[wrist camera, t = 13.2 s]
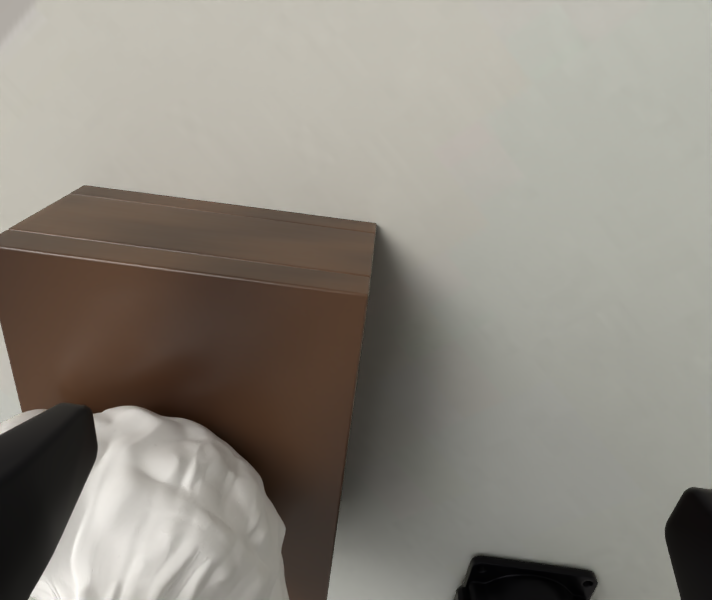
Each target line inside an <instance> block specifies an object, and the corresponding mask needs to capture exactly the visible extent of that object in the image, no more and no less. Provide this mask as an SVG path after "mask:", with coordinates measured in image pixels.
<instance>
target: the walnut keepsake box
mask: <svg viewBox="0 0 712 600" xmlns="http://www.w3.org/2000/svg"><path fill="white" fill-rule="evenodd" d="M376 226H377V224H376V223H369V222H361V221H354V220H346V219H338V218H331V217H323V216H315V215H308V214H300V213H292V212H285V211H277V210H269V209H262V208H254V207H246V206H239V205H231V204H223V203H215V202H208V201H200V200H192V199H185V198H177V197H169V196H162V195H154V194H146V193H139V192H131V191H123V190H116V189H108V188H100V187H93V186H85V185H84V186H82V187H80V188H79V189H77V190H75V191H73V192H71V193H70V194H68V195H67V196H65V197H63V198H61V199H60V200H58V201H56V202H54V203H53V204H51V205H49V206H47V207H46V208H44V209H42V210H40V211H39V212H37V213H35V214H33V215H32V216H30V217H28V218H26V219H25V220H23V221H21V222H19V223H18V224H16V225H14V226H12V227H11V228H9V230H6V231H4V232H3V233H1V234H0V323H1V327H2V331H3V335H4V339H5V343H6V348H7V352H8V356H9V360H10V364H11V368H12V373H13V377H14V381H15V385H16V389H17V393H18V397H19V402H20V406H21V410H22V413H23V412H26V411H30V410H35V409H50V408H51V407H53V406H55V405H57V404H60V403H73V404H80V405H86V406H88V407H90V409H91V410H92V413H93V414H95V413H102V412H103V411H105V410H107V409H110V408H114V407H119V406H138V407H142V408H145V409H148V410H150V411H152V412H154V413H156V414H158V415H161V416H166V417H177V418H184V419H188V420H191V421H194V422H196V423H198V424H201V425H202V426H204V427H206V428H208V429H209V430H210V431H211V432H213V433H214V434H215V435H216V436H217V437H219V438H220V439H222V440H223V441H225V442H226V443H227V444H229V445H230V446H231V447H232V448H233V449H234V450H235V451H236V452H237V453H238V454H239V455H240V456H242V457H243V458H244V459H245V460H246V461H247V462H248V463H249V464H250V465H251V466H252V467H253V468H254V469H255V470H256V471H257V472H258V473H259V475H260V477H261V479H262V481H263V485H264V490H265V493H266V495H267V497H268V498H269V500H270V501H271V502H272V504H273V505H274V507H275V509H276V511H277V513H278V514H279V516H280V518H281V519H282V521H283V523H284V525H285V528H286V531H285V536H284V540H283V544H282V548H281V554H282V558H283V564H284V577H285V583H286V588H287V592H288V596H289V600H327V595H328V588H329V580H330V573H331V566H332V559H333V551H334V544H335V537H336V530H337V523H338V515H339V508H340V501H341V494H342V486H343V479H344V472H345V465H346V458H347V450H348V443H349V436H350V429H351V422H352V414H353V407H354V400H355V393H356V385H357V378H358V371H359V364H360V357H361V349H362V342H363V335H364V328H365V321H366V313H367V306H368V299H369V290H370V281H371V272H372V263H373V254H374V245H375V235H376Z"/></svg>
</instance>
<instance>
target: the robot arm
mask: <svg viewBox="0 0 712 600" xmlns="http://www.w3.org/2000/svg"><path fill="white" fill-rule="evenodd" d="M97 452H98V443H97V436H96V430H95V424H94V418H93V413H92V410H91V409H90V407H88V406H86V405H80V404H73V403H60V404H57V405H55V406H53V407H51V408H50V409H48V410H46V411H44V412H42V413H40V414H38V415H36V416H34V417H32V418H31V419H29V420H27V421H25V422H23V423H21V424H19V425H17V426H15V427H14V428H12V429H10V430H8V431H6V432H4V433H2V434H0V600H28V598H29V597H30V595H31V593H32V591H33V590H34V588H35V586H36V584H37V583H38V581H39V579H40V578H41V576H42V574H43V572H44V570H45V569H46V567H47V565H48V563H49V561H50V560H51V558H52V556H53V554H54V552H55V549H56V547H57V545H58V543H59V541H60V539H61V537H62V534H63V532H64V530H65V528H66V526H67V523H68V521H69V519H70V517H71V514H72V512H73V510H74V508H75V505H76V503H77V501H78V499H79V497H80V494H81V492H82V490H83V488H84V485H85V483H86V481H87V479H88V476H89V474H90V472H91V470H92V467H93V465H94V463H95V460H96V457H97ZM665 539H666V543H667V547H668V551H669V555H670V559H671V563H672V566H673V570H674V574H675V578H676V582H677V586H678V589H679V593H680V597H681V600H712V489H704V488H697V487H691V488H688V489H687V490H685V491H684V493H683V494H682V496H681V498H680V500H679V501H678V503H677V505H676V507H675V508H674V510H673V512H672V514H671V515H670V517H669V519H668V521H667V523H666V527H665ZM597 584H598V582H597V579H596V576H595V574H594V573H593V572H592V571H588V570H581V569H573V568H566V567H559V566H551V565H544V564H537V563H529V562H522V561H515V560H507V559H500V558H493V557H485V556H477V557H474V558H473V559H472V560H471V562H470V565H469V568H468V571H467V574H466V577H465V580H464V583H463V586H460V587H459V588H458V589H457V590H456V594H455V597H454V600H590V598H591V596H592V594H593V592H594V590H595V588H596V586H597Z"/></svg>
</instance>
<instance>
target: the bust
mask: <svg viewBox="0 0 712 600" xmlns="http://www.w3.org/2000/svg"><path fill="white" fill-rule="evenodd" d="M46 410H48V409H35V410H30V411H26V412H23V413H21V414H19V415H16V416H14V417H12V418H10V419H9V420H7V421H4V422H1V423H0V434H2V433H4V432H6V431H8V430H10V429H12V428H14V427H15V426H17V425H19V424H21V423H23V422H25V421H27V420H29V419H31V418H32V417H34V416H36V415H38V414H40V413H42V412H44V411H46ZM93 418H94V424H95V430H96V436H97V443H98V452H97V457H96V460H95V463H94V465H93V467H92V470H91V472H90V474H89V476H88V479H87V481H86V483H85V485H84V488H83V490H82V492H81V494H80V497H79V499H78V501H77V503H76V505H75V508H74V510H73V512H72V514H71V517H70V519H69V521H68V523H67V526H66V528H65V530H64V532H63V534H62V537H61V539H60V541H59V543H58V545H57V547H56V549H55V552H54V554H53V556H52V558H51V560H50V561H49V563H48V565H47V567H46V569H45V570H44V572H43V574H42V576H41V578H40V579H39V581H38V583H37V584H36V586H35V588H34V590H33V591H32V593H31V595H30V597H33V598H35V599H36V600H289V596H288V592H287V588H286V583H285V577H284V564H283V558H282V554H281V548H282V544H283V540H284V536H285V531H286V528H285V525H284V523H283V521H282V519H281V518H280V516H279V514H278V513H277V511H276V509H275V507H274V505H273V504H272V502H271V501H270V500H269V498H268V497H267V495H266V493H265V490H264V485H263V481H262V479H261V477H260V475H259V473H258V472H257V471H256V470H255V469H254V468H253V467H252V466H251V465H250V464H249V463H248V462H247V461H246V460H245V459H244V458H243V457H242V456H240V455H239V454H238V453H237V452H236V451H235V450H234V449H233V448H232V447H231V446H230V445H229V444H227V443H226V442H225V441H223V440H222V439H220V438H219V437H217V436H216V435H215V434H214V433H213V432H211V431H210V430H209V429H208V428H206V427H204V426H202V425H201V424H198V423H196V422H194V421H191V420H188V419H184V418H177V417H166V416H161V415H158V414H156V413H154V412H152V411H150V410H148V409H145V408H142V407H138V406H119V407H114V408H110V409H107V410H105V411H103V412H102V413H95V414H93Z"/></svg>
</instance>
